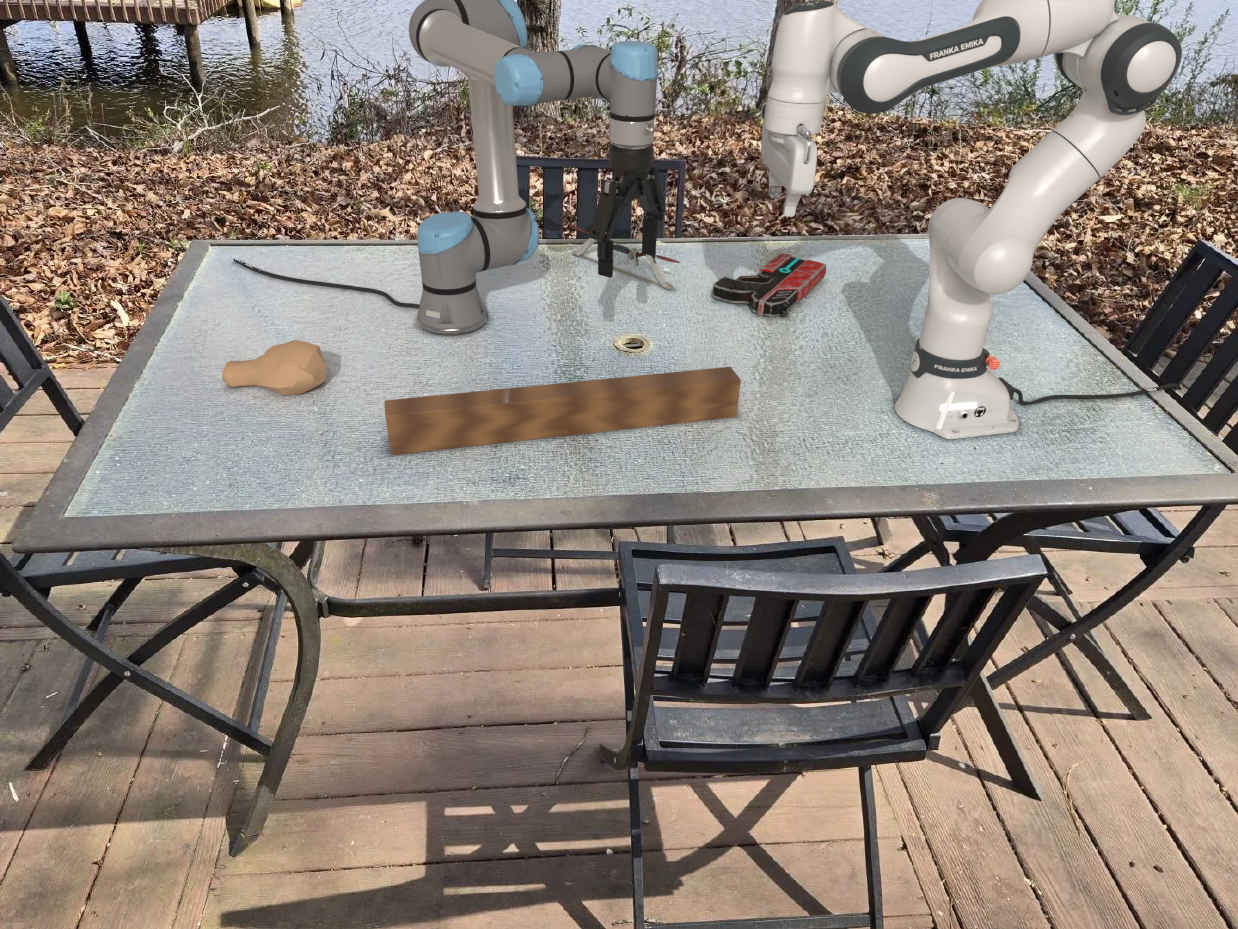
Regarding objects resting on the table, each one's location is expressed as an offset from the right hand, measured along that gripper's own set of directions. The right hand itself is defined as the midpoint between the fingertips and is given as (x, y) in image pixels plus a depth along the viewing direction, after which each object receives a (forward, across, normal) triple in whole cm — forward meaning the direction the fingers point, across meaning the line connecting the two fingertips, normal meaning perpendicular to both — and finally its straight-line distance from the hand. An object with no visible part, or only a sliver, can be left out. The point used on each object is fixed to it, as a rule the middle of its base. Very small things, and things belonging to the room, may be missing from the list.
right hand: (780, 205), depth 144 cm
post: (+40, -3, +35) cm, 53 cm away
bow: (+40, +73, +18) cm, 85 cm away
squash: (+41, +15, +90) cm, 100 cm away
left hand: (+14, +11, +24) cm, 30 cm away
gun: (+39, +58, -18) cm, 73 cm away
